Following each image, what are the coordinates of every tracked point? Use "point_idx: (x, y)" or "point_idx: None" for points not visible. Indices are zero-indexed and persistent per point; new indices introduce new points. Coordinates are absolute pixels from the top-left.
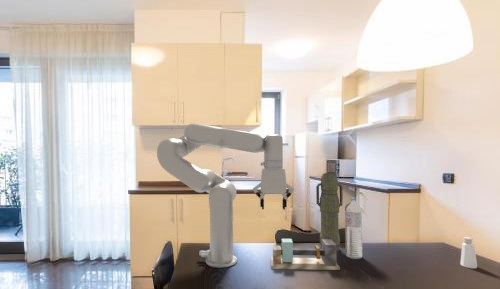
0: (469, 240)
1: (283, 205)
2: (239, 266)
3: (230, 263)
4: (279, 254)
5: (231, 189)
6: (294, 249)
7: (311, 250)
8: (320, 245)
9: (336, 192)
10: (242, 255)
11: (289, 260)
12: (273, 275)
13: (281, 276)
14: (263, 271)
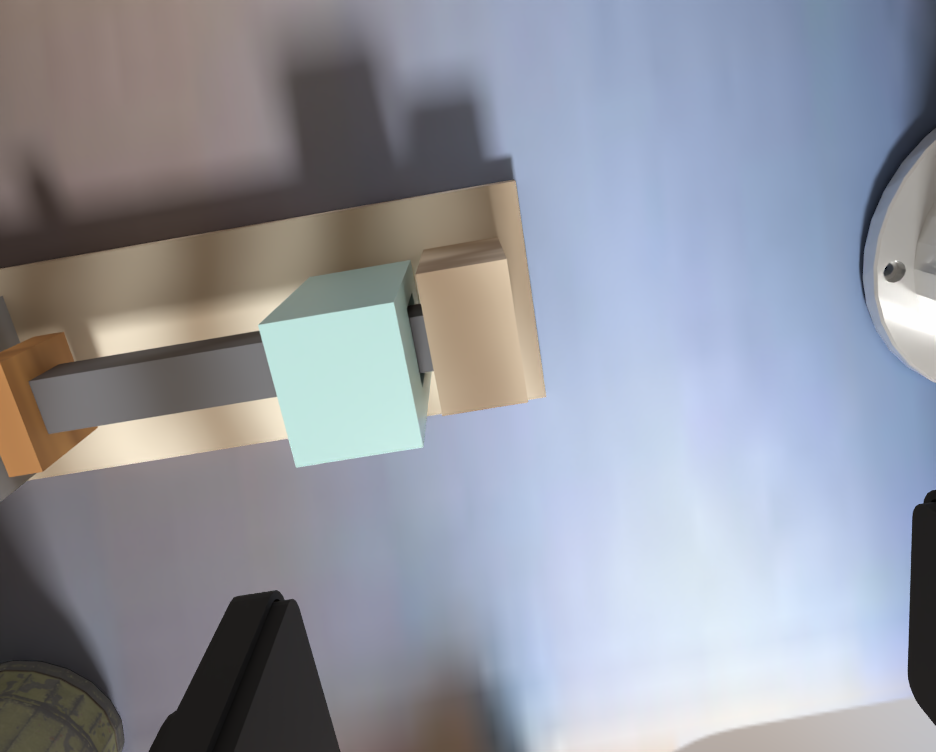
0: None
1: (249, 682)
2: (823, 170)
3: (931, 147)
4: (438, 260)
5: None
6: None
7: (82, 371)
8: (105, 744)
9: None
10: (817, 436)
11: (340, 274)
12: (476, 27)
13: (399, 20)
14: (581, 101)
